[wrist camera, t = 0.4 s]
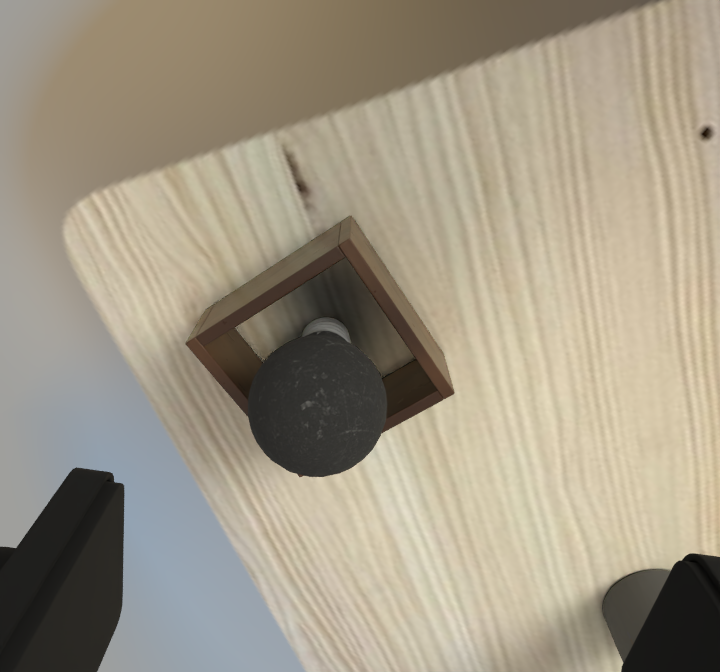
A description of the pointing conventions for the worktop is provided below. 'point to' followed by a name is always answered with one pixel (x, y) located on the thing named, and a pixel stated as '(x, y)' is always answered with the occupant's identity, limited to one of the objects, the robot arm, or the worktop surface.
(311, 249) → the crate
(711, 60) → the worktop surface
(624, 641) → the bottle
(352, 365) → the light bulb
